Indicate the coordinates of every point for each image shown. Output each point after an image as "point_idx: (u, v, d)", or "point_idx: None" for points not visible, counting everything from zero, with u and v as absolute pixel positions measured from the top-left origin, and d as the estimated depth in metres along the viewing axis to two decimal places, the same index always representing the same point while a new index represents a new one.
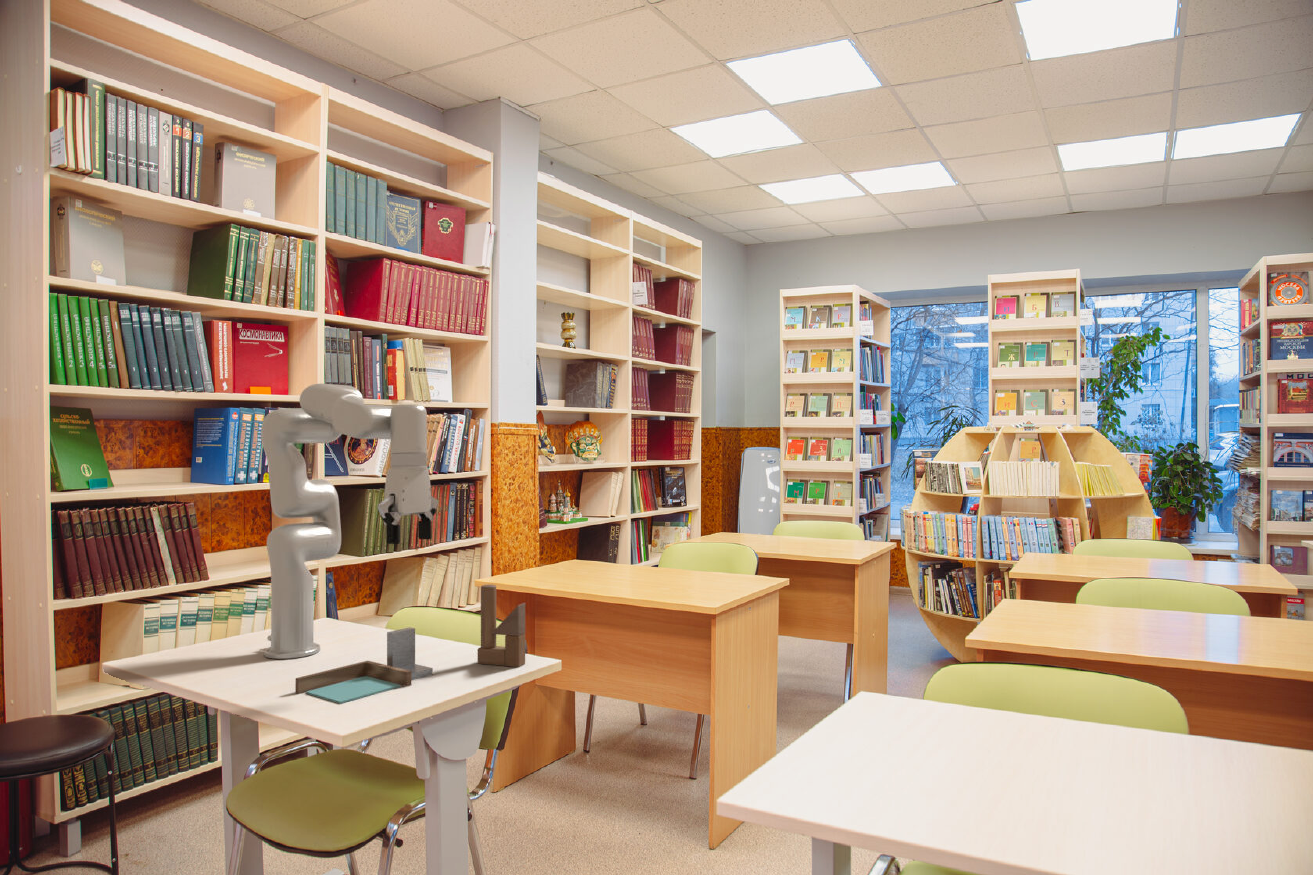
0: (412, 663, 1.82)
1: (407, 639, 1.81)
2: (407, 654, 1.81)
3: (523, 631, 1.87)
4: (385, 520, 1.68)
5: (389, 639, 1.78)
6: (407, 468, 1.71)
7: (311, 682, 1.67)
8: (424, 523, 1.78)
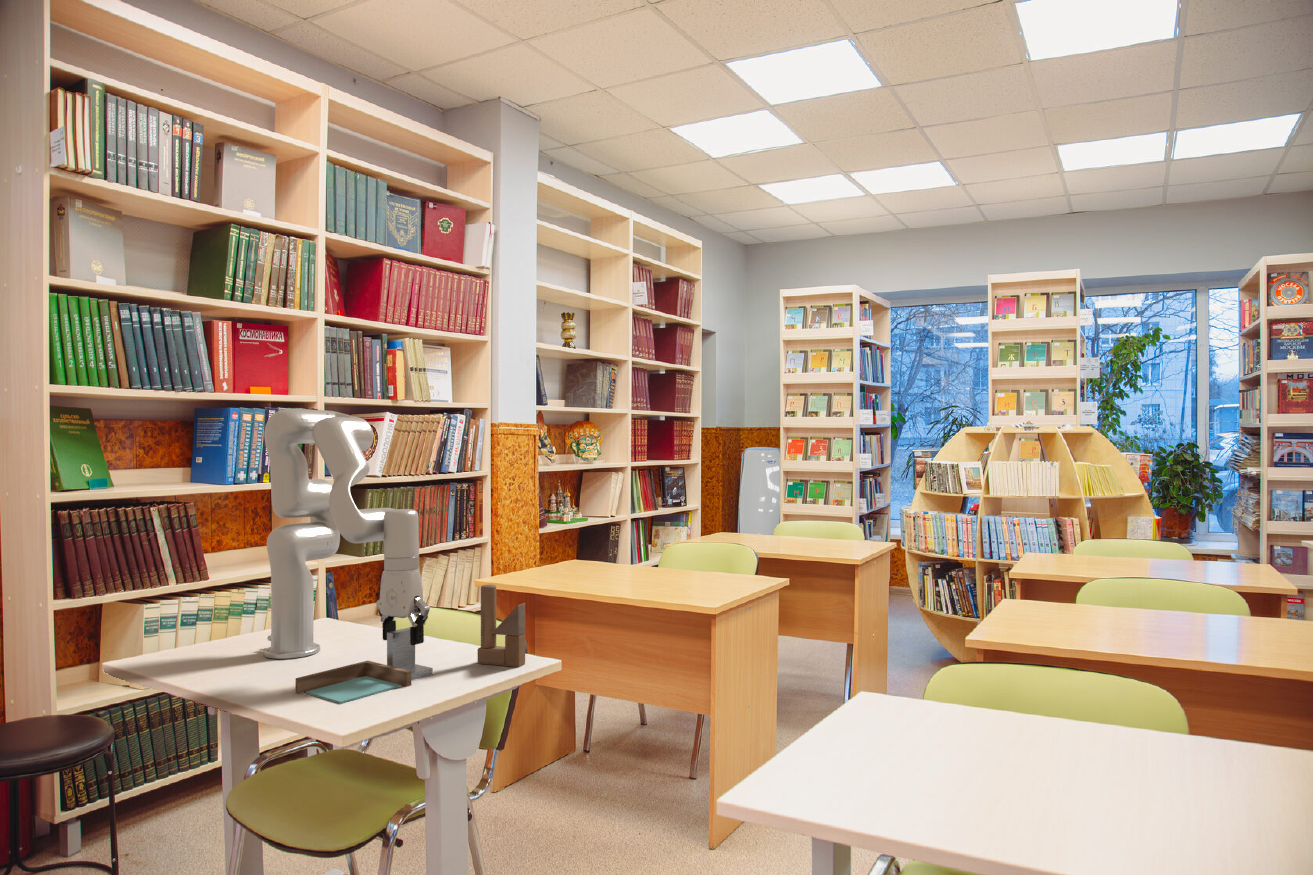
0: (412, 663, 1.82)
1: (407, 639, 1.81)
2: (407, 654, 1.81)
3: (523, 631, 1.87)
4: (421, 622, 1.76)
5: (389, 639, 1.78)
6: (418, 570, 1.81)
7: (311, 682, 1.67)
8: (391, 623, 1.83)
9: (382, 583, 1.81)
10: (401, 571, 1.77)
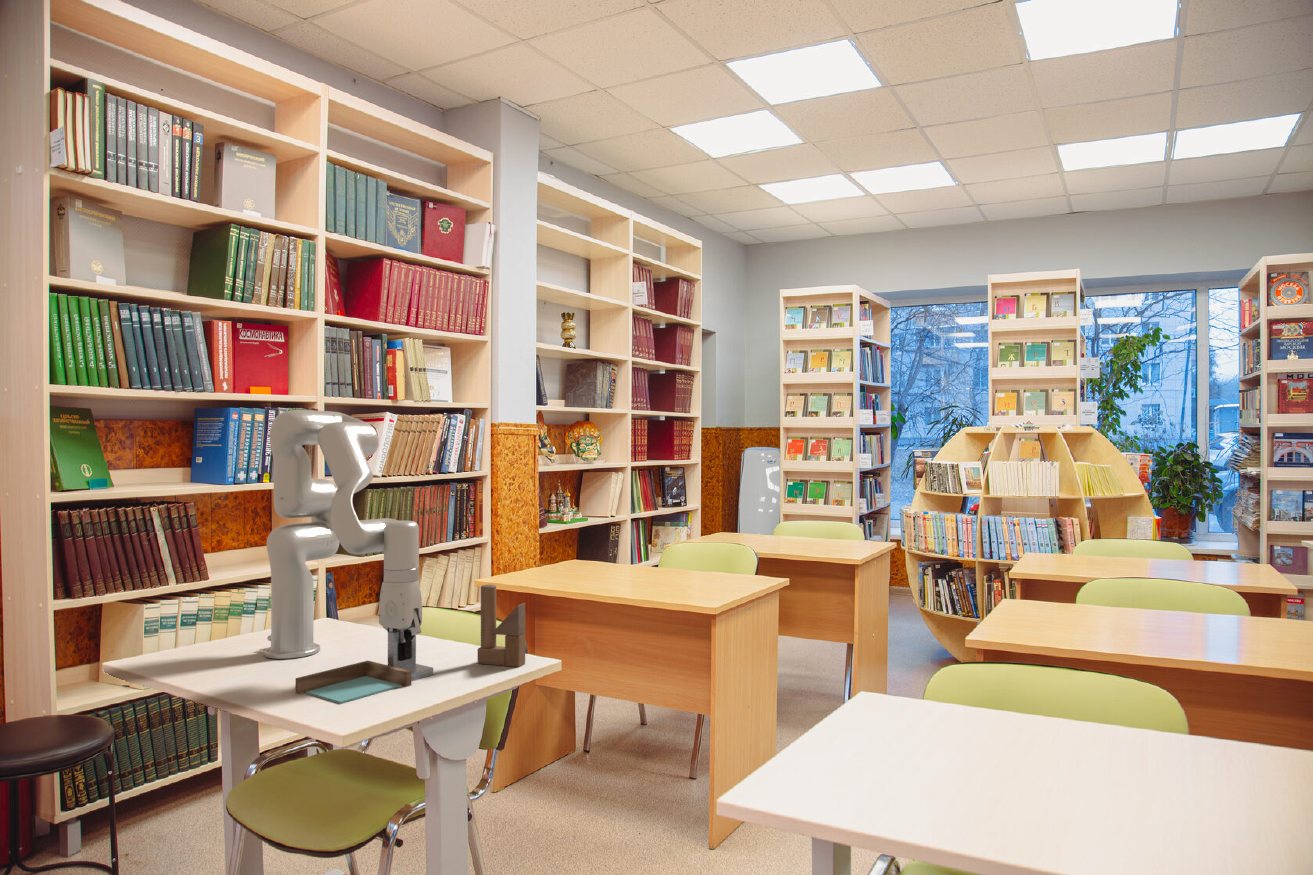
0: (413, 663, 1.82)
1: None
2: None
3: (523, 631, 1.87)
4: (409, 638, 1.79)
5: (390, 639, 1.78)
6: None
7: (311, 682, 1.67)
8: None
9: (382, 595, 1.81)
10: (401, 583, 1.77)
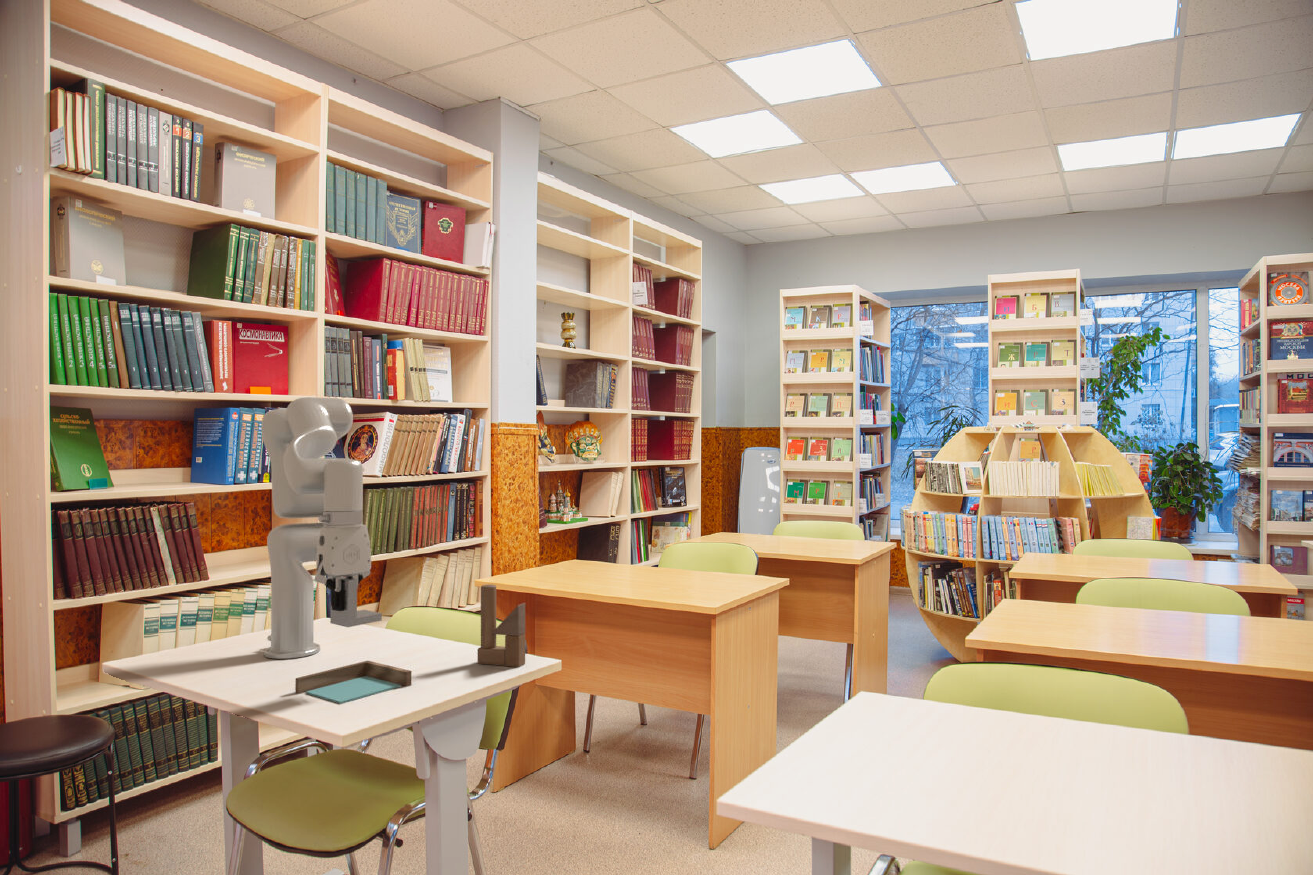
0: None
1: None
2: None
3: (523, 631, 1.87)
4: None
5: (352, 587, 1.64)
6: None
7: (311, 682, 1.67)
8: None
9: (336, 541, 1.62)
10: (362, 524, 1.67)
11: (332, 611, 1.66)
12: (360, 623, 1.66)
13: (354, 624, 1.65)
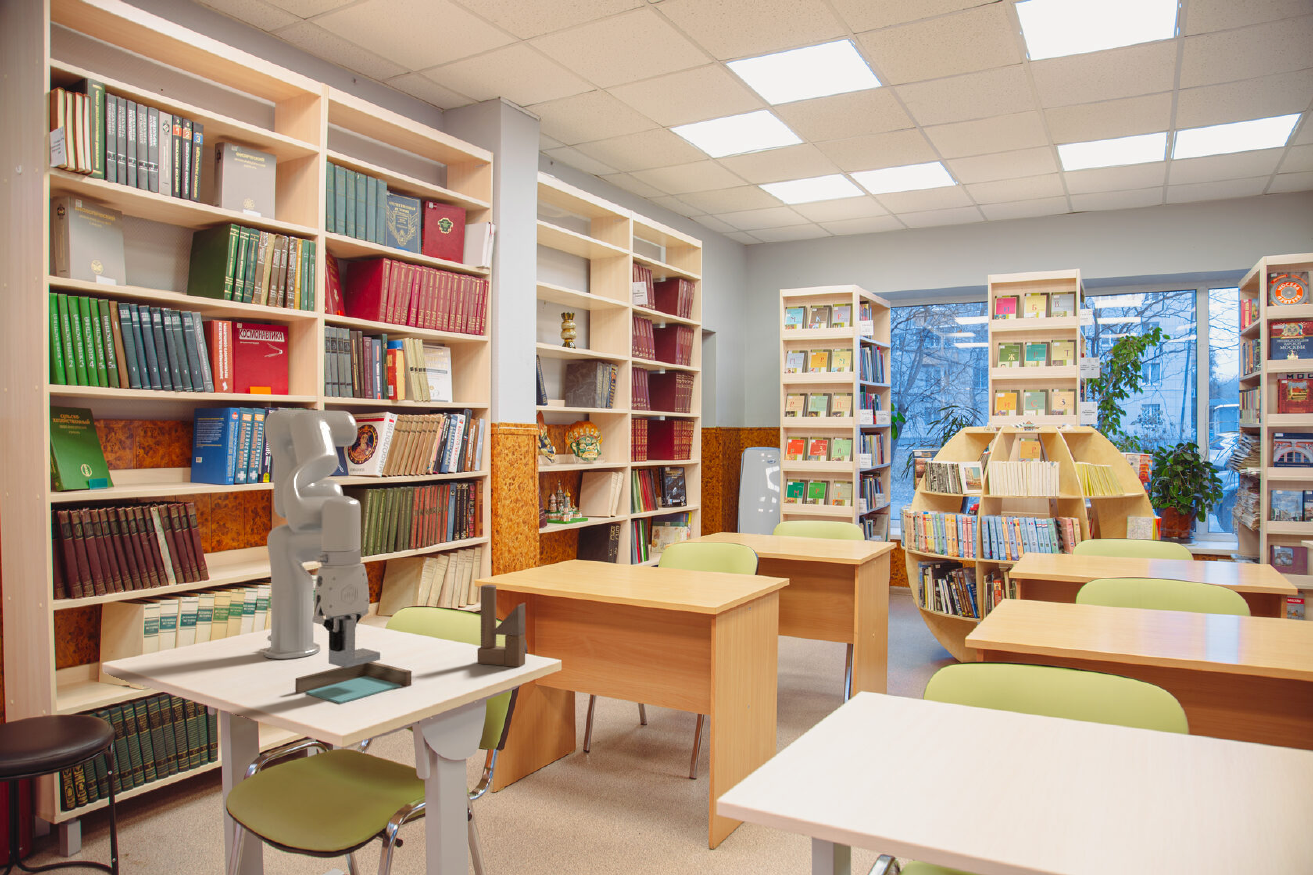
0: None
1: None
2: None
3: (523, 631, 1.87)
4: None
5: (350, 627, 1.63)
6: None
7: (311, 682, 1.67)
8: None
9: (334, 582, 1.61)
10: (360, 563, 1.66)
11: (330, 651, 1.66)
12: (358, 663, 1.65)
13: (352, 664, 1.64)
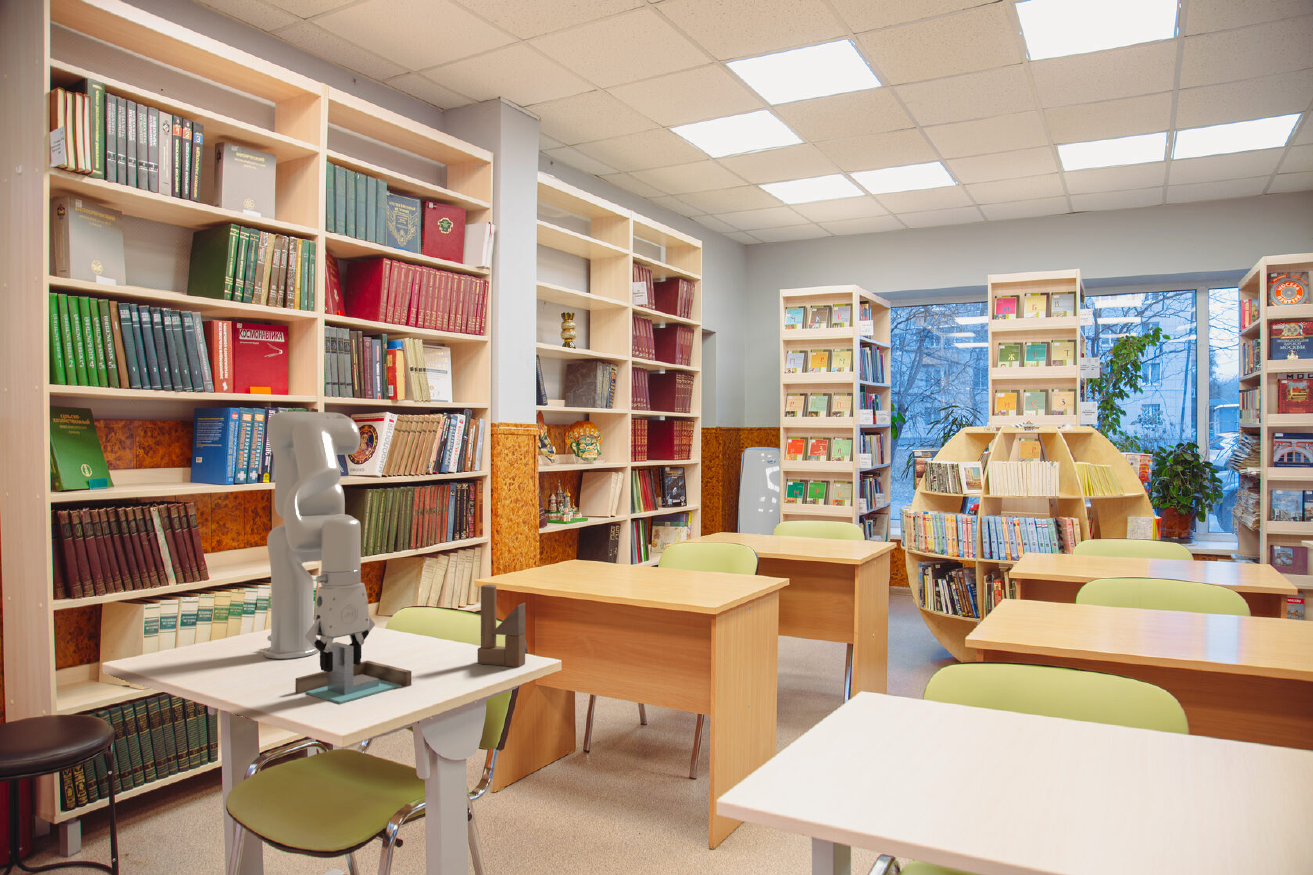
0: None
1: None
2: None
3: (523, 631, 1.87)
4: None
5: (348, 654, 1.63)
6: None
7: (311, 682, 1.67)
8: None
9: (334, 602, 1.61)
10: (360, 583, 1.66)
11: (329, 678, 1.66)
12: (357, 690, 1.65)
13: (351, 691, 1.64)
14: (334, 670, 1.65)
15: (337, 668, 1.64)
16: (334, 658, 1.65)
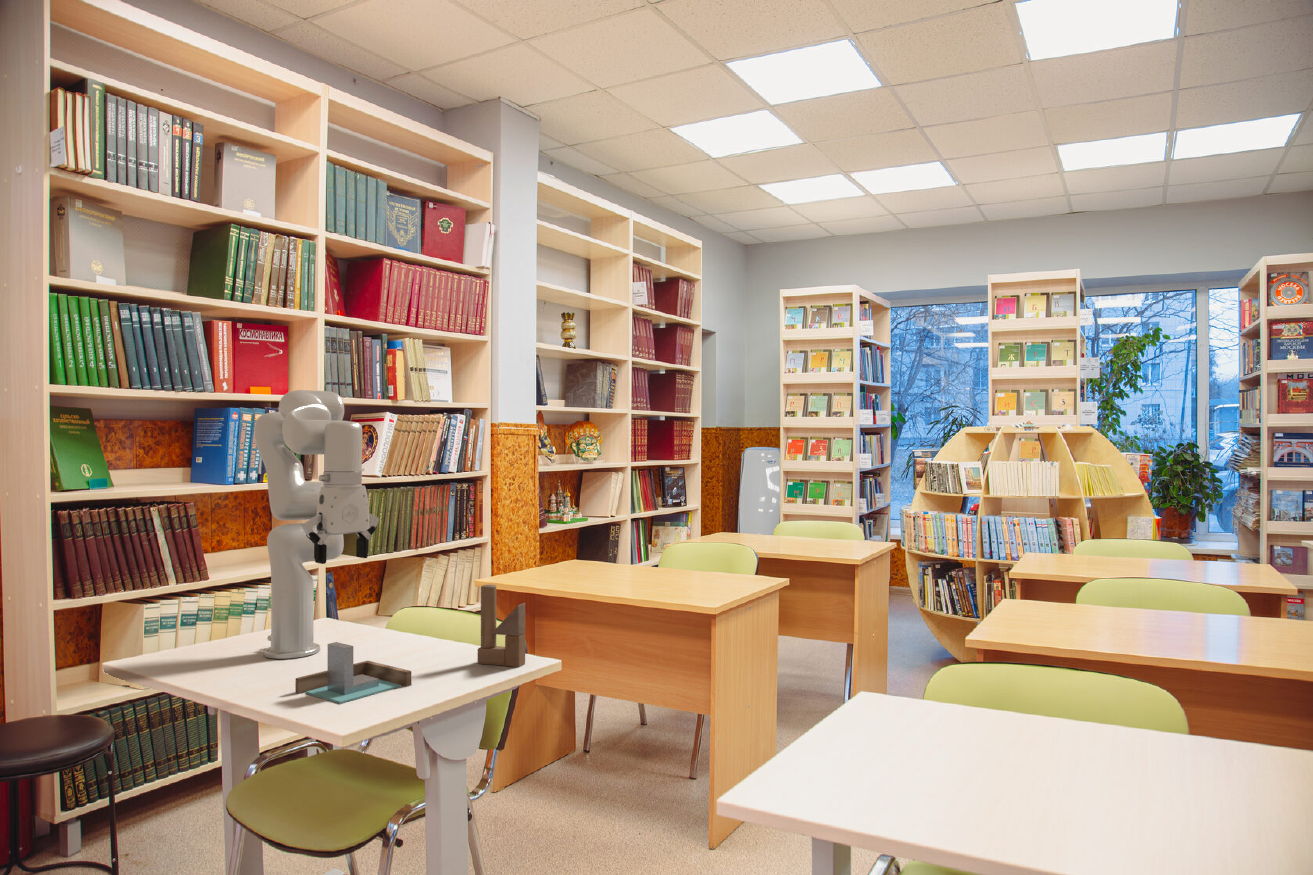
0: None
1: None
2: None
3: (523, 631, 1.87)
4: None
5: (348, 654, 1.63)
6: None
7: (311, 682, 1.67)
8: None
9: (335, 501, 1.67)
10: (361, 484, 1.72)
11: (329, 678, 1.66)
12: (357, 690, 1.65)
13: (351, 691, 1.64)
14: (334, 670, 1.65)
15: (337, 668, 1.64)
16: (334, 658, 1.65)
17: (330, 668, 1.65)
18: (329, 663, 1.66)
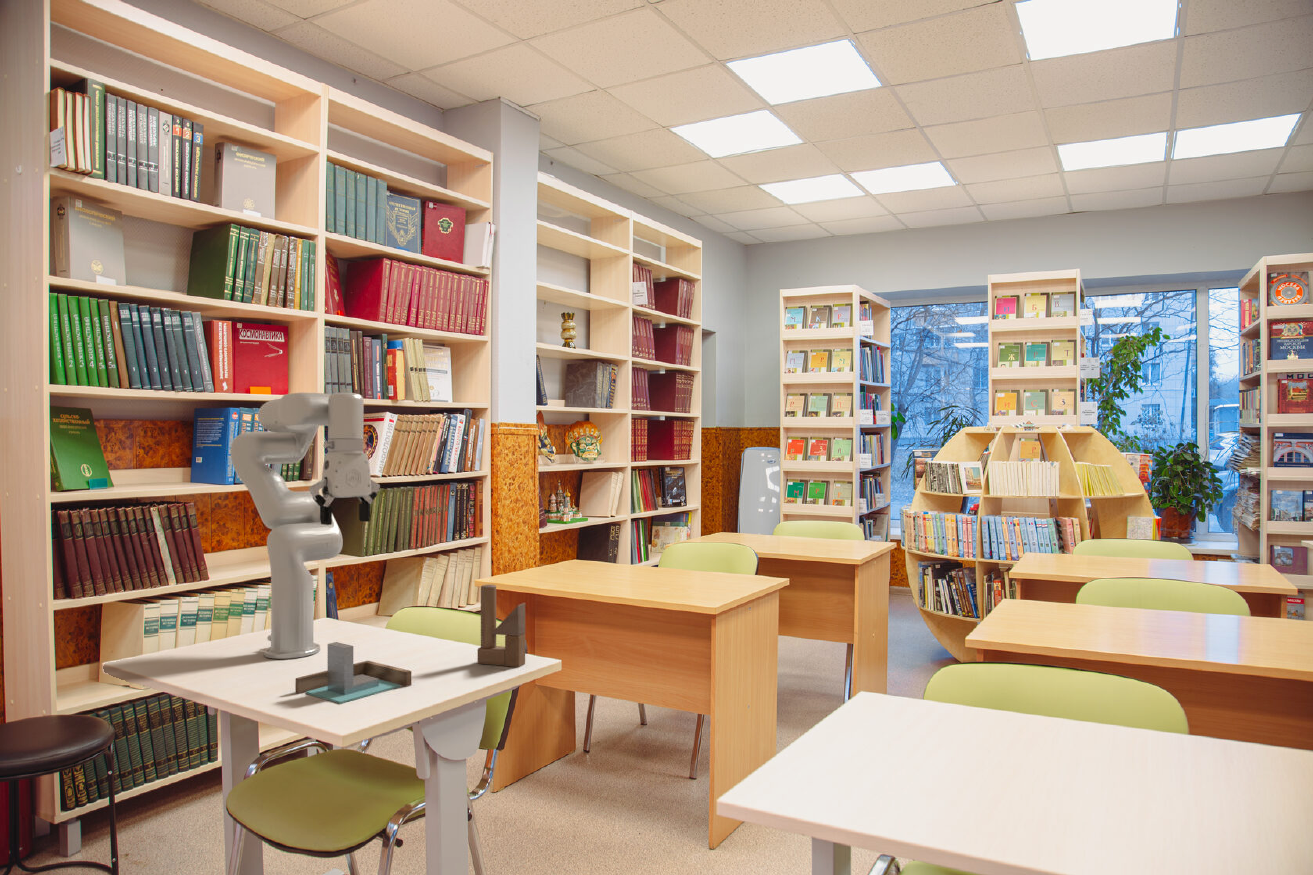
0: None
1: None
2: None
3: (523, 631, 1.87)
4: None
5: (348, 654, 1.63)
6: None
7: (311, 682, 1.67)
8: None
9: (339, 466, 1.79)
10: None
11: (329, 678, 1.66)
12: (357, 690, 1.65)
13: (351, 691, 1.64)
14: (334, 670, 1.65)
15: (337, 668, 1.64)
16: (334, 658, 1.65)
17: (330, 668, 1.65)
18: (329, 663, 1.66)
